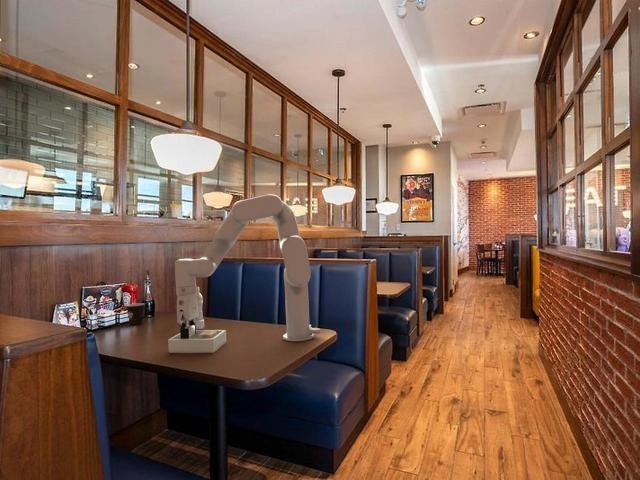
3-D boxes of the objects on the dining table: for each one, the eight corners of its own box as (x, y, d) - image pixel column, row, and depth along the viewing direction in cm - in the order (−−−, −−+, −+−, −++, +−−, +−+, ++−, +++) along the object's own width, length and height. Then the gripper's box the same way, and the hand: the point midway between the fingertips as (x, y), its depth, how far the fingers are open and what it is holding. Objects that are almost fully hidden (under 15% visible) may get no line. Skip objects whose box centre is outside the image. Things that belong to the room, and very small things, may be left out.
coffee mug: (125, 324, 200) (124, 305, 200) (142, 321, 206) (141, 302, 206) (132, 328, 191) (131, 307, 191) (150, 324, 197) (149, 304, 197)
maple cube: (217, 343, 155) (216, 331, 155) (212, 347, 150) (211, 334, 150) (204, 344, 155) (204, 331, 155) (199, 347, 150) (199, 334, 150)
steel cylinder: (197, 342, 156) (196, 324, 156) (192, 345, 151) (191, 327, 151) (185, 342, 156) (184, 324, 156) (179, 345, 151) (178, 327, 151)
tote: (226, 342, 159) (225, 330, 159) (213, 352, 145) (213, 339, 145) (184, 342, 161) (184, 330, 161) (168, 353, 147) (168, 339, 147)
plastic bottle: (200, 332, 178) (198, 288, 178) (186, 331, 179) (184, 288, 179) (207, 328, 184) (205, 286, 184) (194, 328, 186) (192, 286, 185)
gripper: (185, 293, 144) (188, 342, 145) (204, 287, 161) (206, 330, 162) (166, 294, 145) (168, 342, 145) (186, 287, 162) (188, 331, 162)
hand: (188, 336), depth 153 cm, fingers open, 5 cm apart
